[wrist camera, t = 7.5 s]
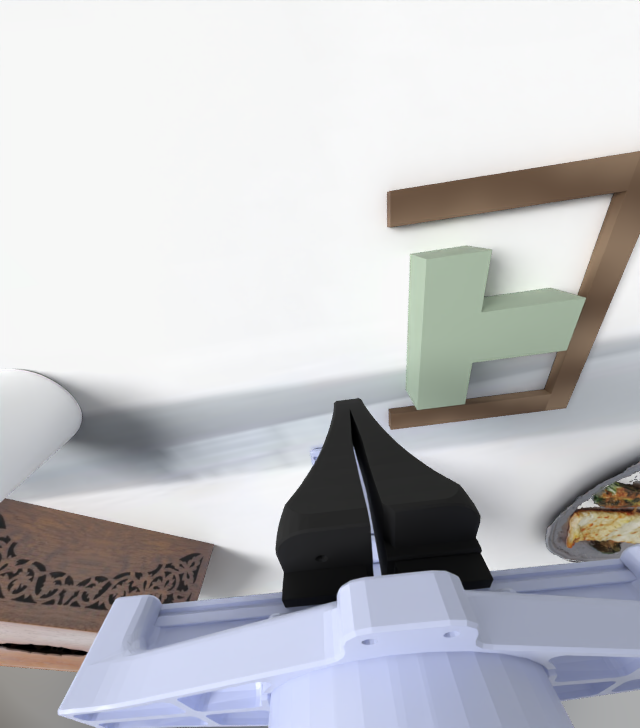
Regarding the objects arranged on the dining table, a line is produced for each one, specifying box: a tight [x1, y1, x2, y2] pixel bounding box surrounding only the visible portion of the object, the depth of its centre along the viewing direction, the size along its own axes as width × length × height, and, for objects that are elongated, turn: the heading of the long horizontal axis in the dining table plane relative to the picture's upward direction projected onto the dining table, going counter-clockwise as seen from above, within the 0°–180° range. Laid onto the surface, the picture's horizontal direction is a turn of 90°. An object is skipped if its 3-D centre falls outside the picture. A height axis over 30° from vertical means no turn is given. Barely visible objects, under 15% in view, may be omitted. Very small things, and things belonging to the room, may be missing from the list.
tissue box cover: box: [0, 498, 214, 672], centre depth 32 cm, size 26×14×10 cm, turn 62°
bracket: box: [387, 151, 640, 430], centre depth 21 cm, size 20×17×1 cm
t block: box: [406, 246, 586, 410], centre depth 20 cm, size 12×11×3 cm
